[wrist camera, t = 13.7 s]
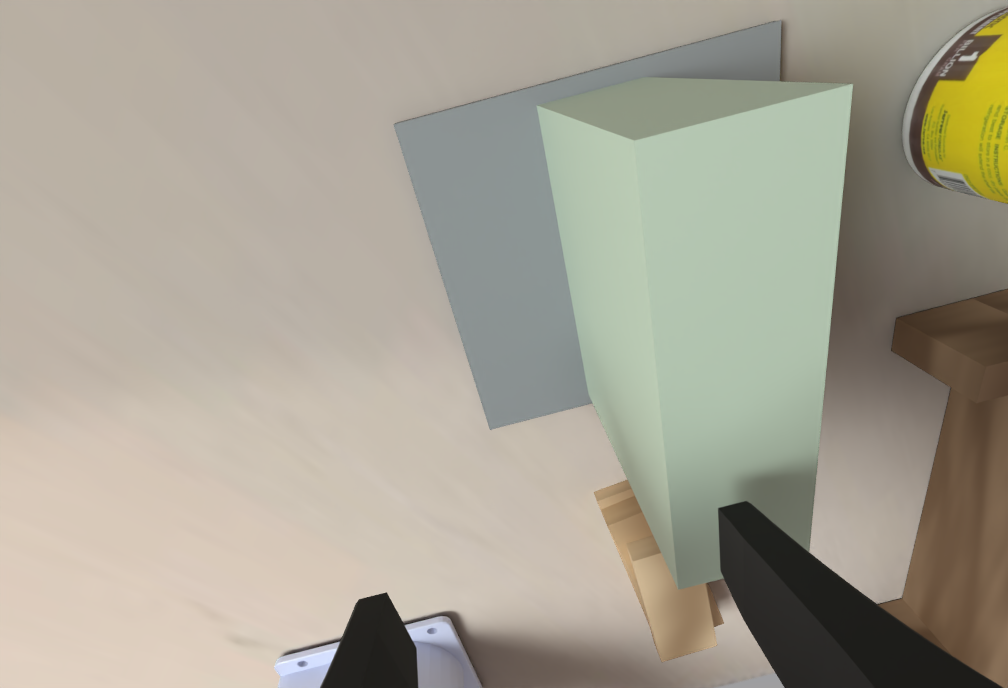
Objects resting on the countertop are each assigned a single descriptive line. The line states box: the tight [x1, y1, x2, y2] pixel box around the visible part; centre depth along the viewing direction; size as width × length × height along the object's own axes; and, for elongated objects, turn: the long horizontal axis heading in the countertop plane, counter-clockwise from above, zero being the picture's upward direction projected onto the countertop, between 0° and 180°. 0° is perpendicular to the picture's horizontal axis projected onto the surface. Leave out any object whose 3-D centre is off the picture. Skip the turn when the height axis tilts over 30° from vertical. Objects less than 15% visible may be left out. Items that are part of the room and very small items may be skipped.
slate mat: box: [394, 20, 781, 430], centre depth 18 cm, size 12×12×1 cm
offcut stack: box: [594, 480, 724, 662], centre depth 26 cm, size 4×12×3 cm, turn 22°
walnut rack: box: [878, 289, 1008, 688], centre depth 24 cm, size 5×22×6 cm, turn 14°
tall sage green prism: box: [537, 77, 853, 590], centre depth 14 cm, size 3×11×9 cm, turn 13°
